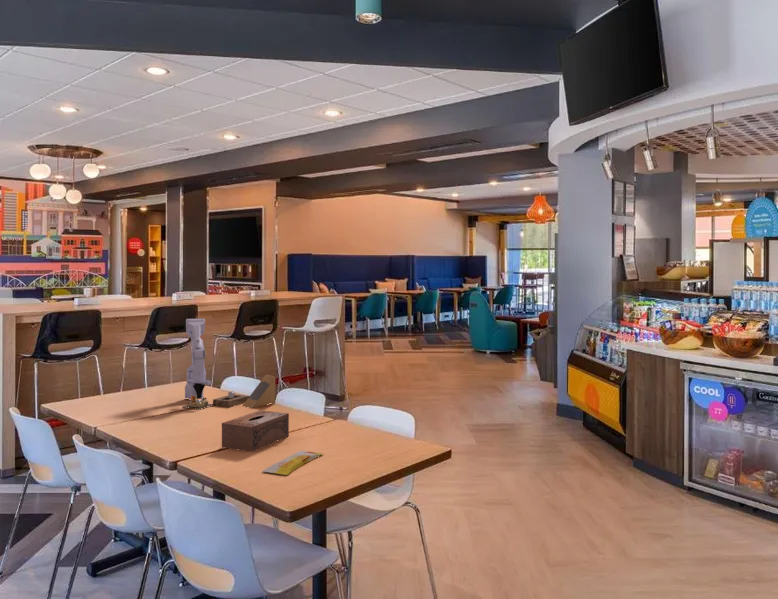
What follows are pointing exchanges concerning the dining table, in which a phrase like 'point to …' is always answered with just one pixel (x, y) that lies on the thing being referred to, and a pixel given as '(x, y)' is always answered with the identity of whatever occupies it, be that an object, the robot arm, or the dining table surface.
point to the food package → (292, 462)
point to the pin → (230, 395)
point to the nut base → (197, 401)
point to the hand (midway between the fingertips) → (199, 398)
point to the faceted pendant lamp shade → (197, 404)
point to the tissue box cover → (255, 430)
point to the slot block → (235, 401)
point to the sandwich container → (262, 393)
